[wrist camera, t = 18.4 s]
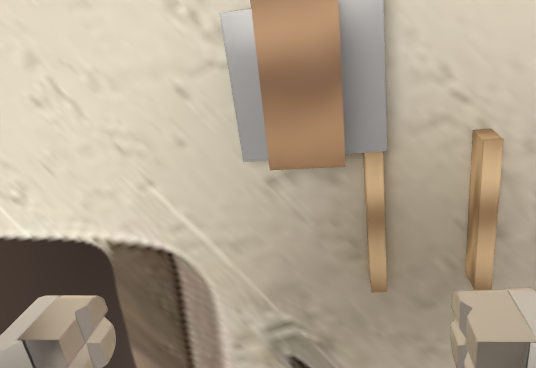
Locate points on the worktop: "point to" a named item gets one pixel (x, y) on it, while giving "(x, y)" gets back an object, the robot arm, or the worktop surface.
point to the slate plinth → (352, 67)
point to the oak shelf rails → (479, 220)
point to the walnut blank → (300, 82)
